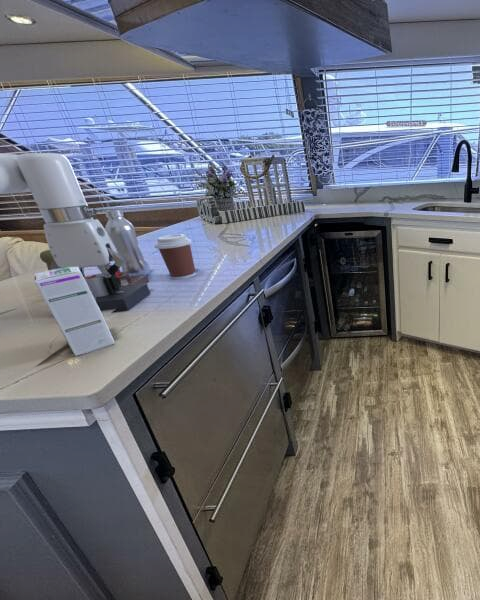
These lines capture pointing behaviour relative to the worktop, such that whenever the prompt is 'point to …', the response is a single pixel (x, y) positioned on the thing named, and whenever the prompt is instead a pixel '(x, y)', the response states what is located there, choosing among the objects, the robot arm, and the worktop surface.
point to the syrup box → (74, 309)
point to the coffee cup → (177, 255)
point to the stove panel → (123, 298)
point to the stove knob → (97, 285)
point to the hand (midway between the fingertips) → (101, 292)
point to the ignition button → (118, 273)
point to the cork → (47, 258)
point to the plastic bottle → (126, 243)
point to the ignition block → (131, 279)
